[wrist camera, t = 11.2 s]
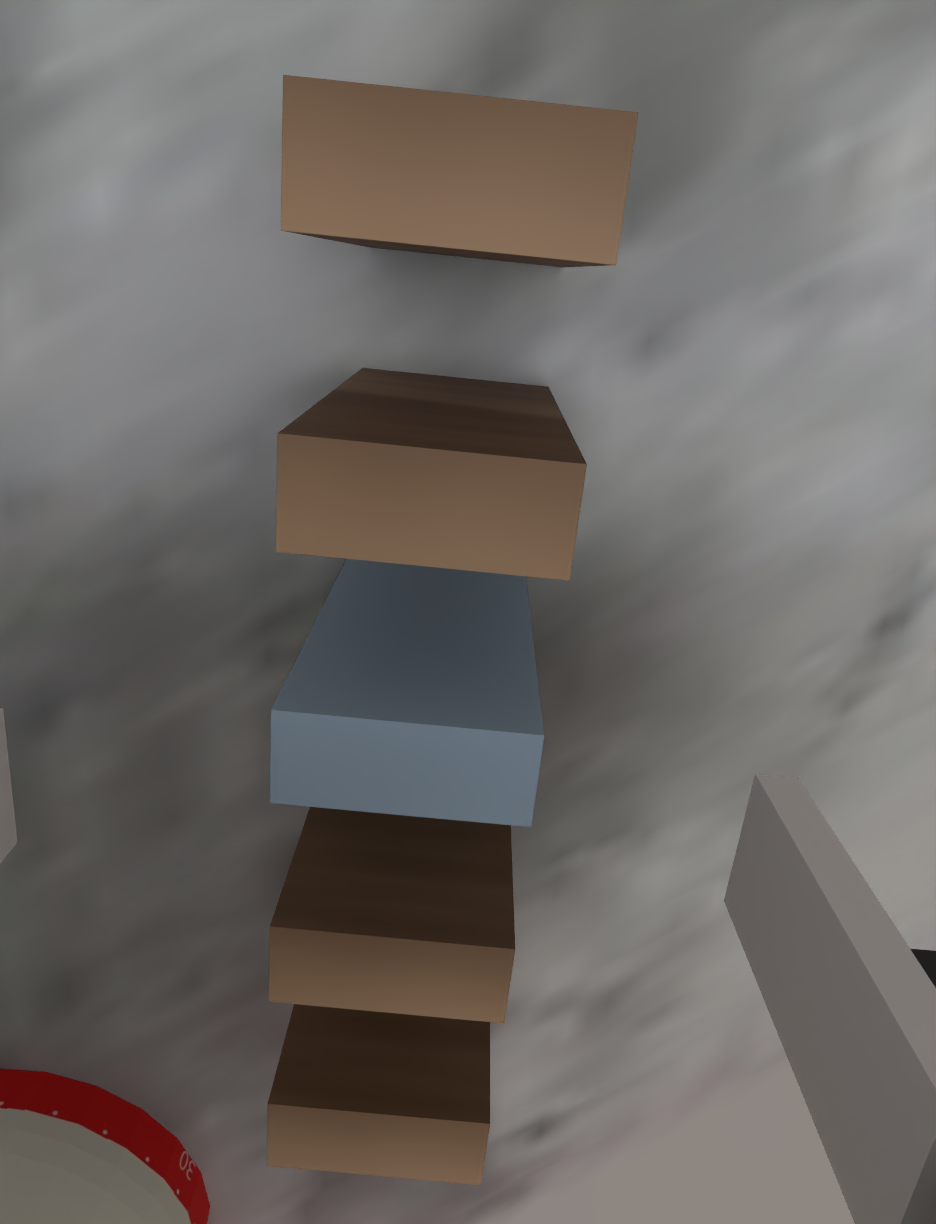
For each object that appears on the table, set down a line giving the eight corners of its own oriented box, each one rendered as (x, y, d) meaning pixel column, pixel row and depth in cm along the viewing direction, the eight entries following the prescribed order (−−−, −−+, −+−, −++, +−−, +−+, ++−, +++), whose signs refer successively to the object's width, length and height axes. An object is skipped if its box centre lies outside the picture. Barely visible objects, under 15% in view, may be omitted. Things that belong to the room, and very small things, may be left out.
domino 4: (499, 771, 28) (503, 1023, 18) (343, 755, 28) (268, 1001, 18) (506, 715, 27) (515, 949, 18) (346, 700, 27) (269, 926, 18)
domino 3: (517, 627, 26) (531, 826, 17) (349, 611, 26) (269, 803, 17) (524, 563, 25) (544, 735, 16) (352, 547, 25) (271, 710, 16)
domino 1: (563, 267, 22) (615, 264, 13) (368, 246, 22) (281, 230, 13) (574, 180, 22) (638, 112, 12) (373, 159, 21) (282, 75, 12)
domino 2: (539, 460, 24) (569, 580, 15) (358, 442, 24) (275, 551, 15) (548, 386, 23) (586, 464, 14) (362, 368, 23) (277, 432, 14)
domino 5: (483, 897, 30) (480, 1184, 20) (337, 883, 30) (266, 1166, 20) (489, 848, 29) (490, 1124, 20) (339, 834, 29) (267, 1104, 19)
